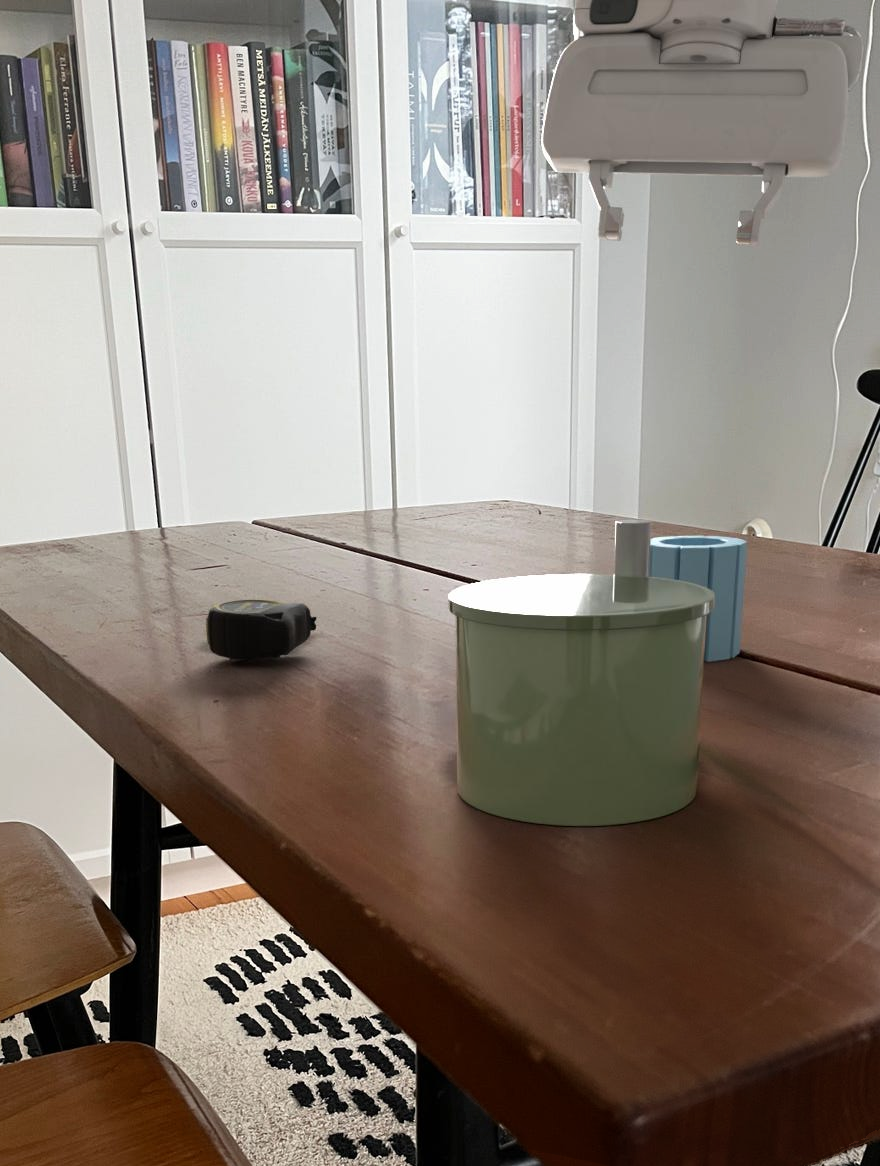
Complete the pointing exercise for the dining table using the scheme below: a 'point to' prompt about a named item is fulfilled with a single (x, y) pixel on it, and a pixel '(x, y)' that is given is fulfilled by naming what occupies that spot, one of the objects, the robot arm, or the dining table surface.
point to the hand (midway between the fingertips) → (677, 240)
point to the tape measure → (257, 628)
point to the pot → (581, 691)
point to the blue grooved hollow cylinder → (708, 582)
